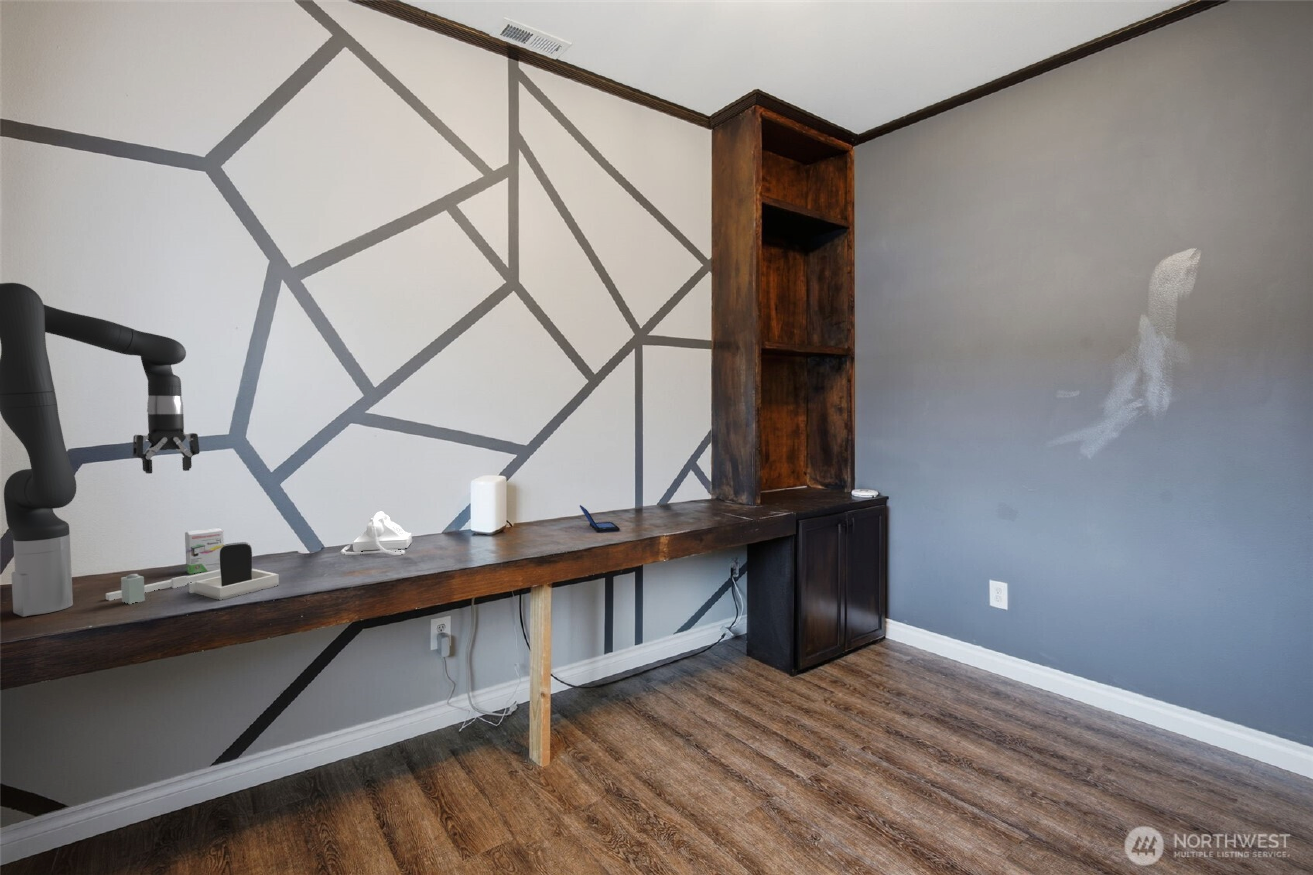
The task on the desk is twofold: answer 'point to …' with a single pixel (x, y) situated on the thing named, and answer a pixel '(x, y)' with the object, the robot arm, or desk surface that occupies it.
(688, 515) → the desk surface
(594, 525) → the handheld game console
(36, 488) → the robot arm
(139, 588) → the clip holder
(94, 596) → the desk surface
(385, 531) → the telephone
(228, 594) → the tray
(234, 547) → the black rounded upright slab
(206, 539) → the ink box
